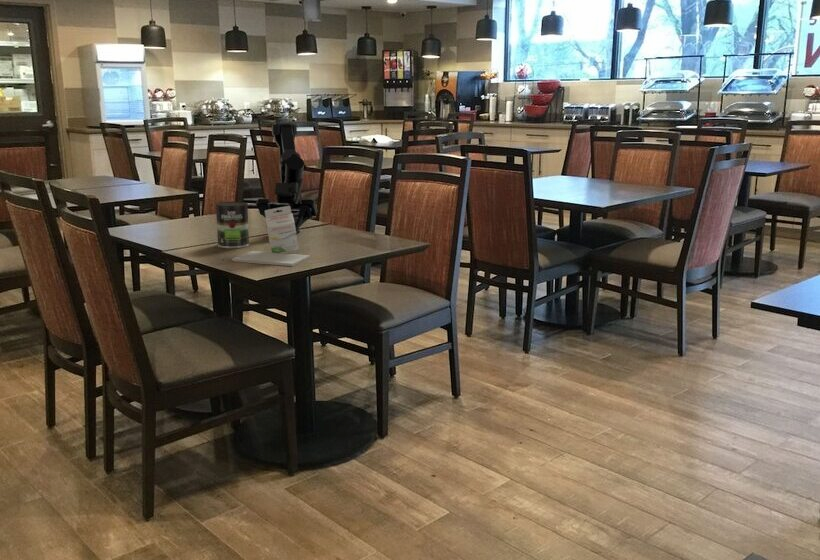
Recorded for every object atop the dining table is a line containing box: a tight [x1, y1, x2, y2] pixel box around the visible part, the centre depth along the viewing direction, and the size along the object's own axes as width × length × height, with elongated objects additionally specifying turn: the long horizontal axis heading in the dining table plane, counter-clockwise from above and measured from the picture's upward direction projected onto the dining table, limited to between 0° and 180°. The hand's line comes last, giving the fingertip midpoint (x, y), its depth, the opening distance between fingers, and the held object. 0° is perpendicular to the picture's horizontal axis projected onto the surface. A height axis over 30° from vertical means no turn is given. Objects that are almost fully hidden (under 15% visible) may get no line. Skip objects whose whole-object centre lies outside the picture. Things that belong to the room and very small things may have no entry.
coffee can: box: [215, 201, 250, 250], centre depth 245 cm, size 10×10×14 cm
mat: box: [231, 250, 311, 267], centre depth 226 cm, size 20×12×1 cm, turn 72°
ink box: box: [264, 206, 300, 253], centre depth 230 cm, size 9×5×15 cm
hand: (281, 228), depth 230 cm, fingers open, 9 cm apart
